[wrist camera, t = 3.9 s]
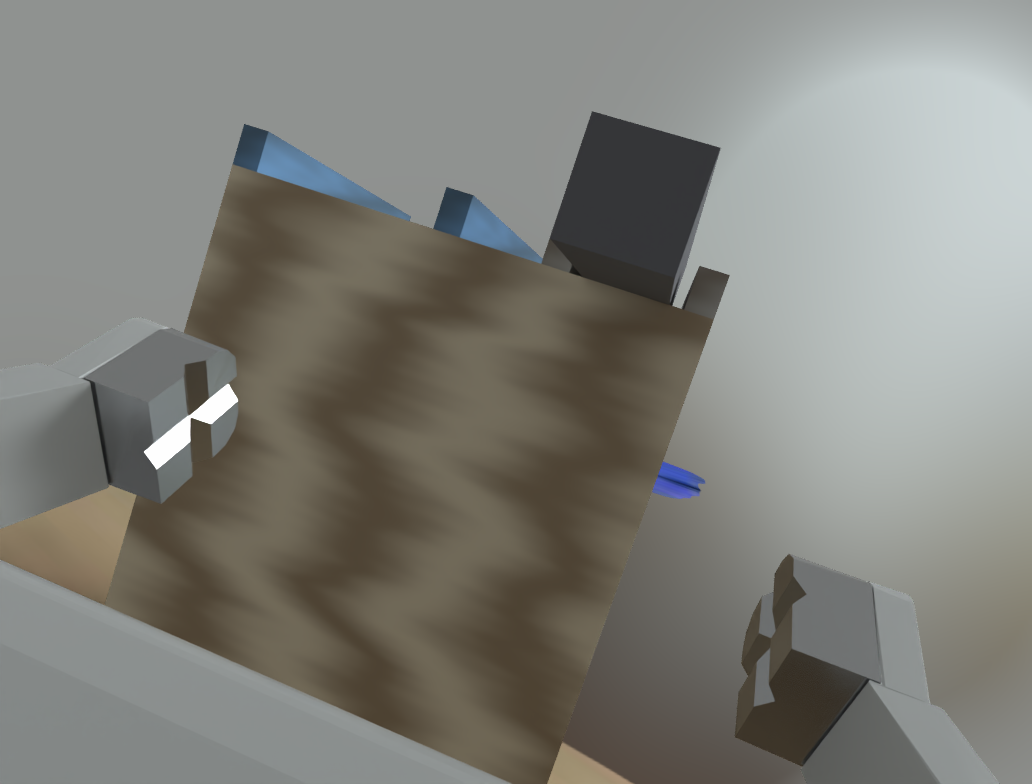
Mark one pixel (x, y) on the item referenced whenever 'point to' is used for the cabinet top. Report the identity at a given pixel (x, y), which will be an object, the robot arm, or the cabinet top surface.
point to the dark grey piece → (634, 206)
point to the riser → (412, 461)
